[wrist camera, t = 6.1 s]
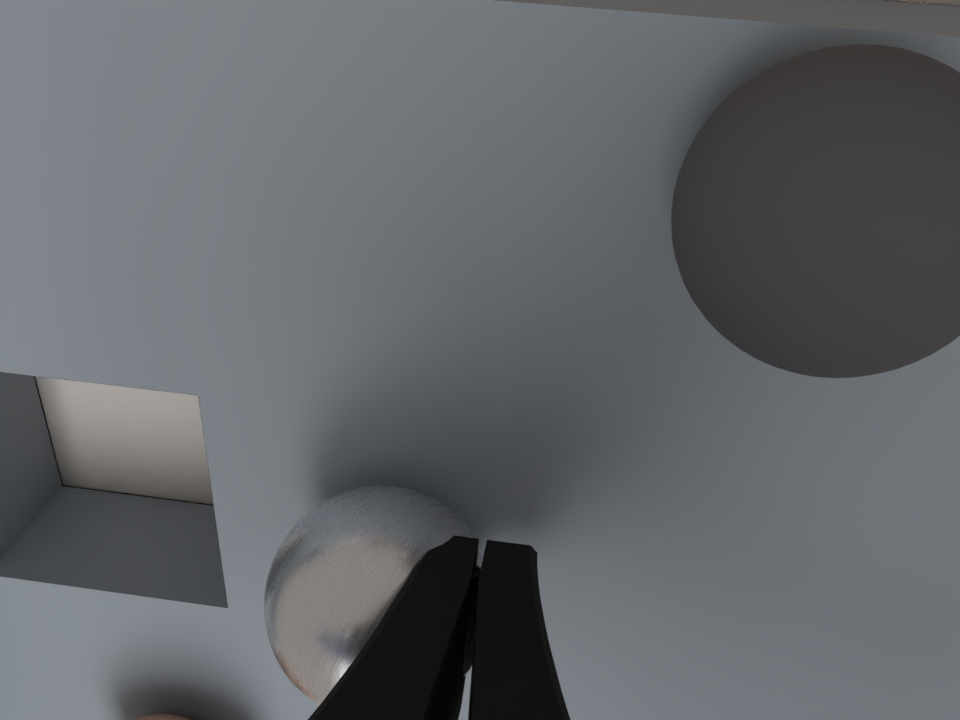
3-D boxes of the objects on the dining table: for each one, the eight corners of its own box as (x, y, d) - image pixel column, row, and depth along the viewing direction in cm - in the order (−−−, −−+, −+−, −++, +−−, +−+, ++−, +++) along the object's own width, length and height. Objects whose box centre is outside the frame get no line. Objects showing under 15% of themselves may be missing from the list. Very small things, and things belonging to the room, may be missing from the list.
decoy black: (904, 303, 10) (1008, 464, 8) (643, 276, 11) (655, 421, 8) (999, 30, 9) (1177, 110, 6) (689, 5, 9) (723, 73, 6)
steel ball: (382, 816, 11) (211, 677, 12) (508, 660, 14) (355, 556, 15) (417, 665, 9) (214, 519, 11) (555, 516, 12) (377, 411, 13)
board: (939, 794, 19) (1006, 983, 16) (1, 656, 21) (-108, 801, 17) (1370, 37, 11) (1697, 116, 7) (-262, -86, 12) (-560, -64, 9)
